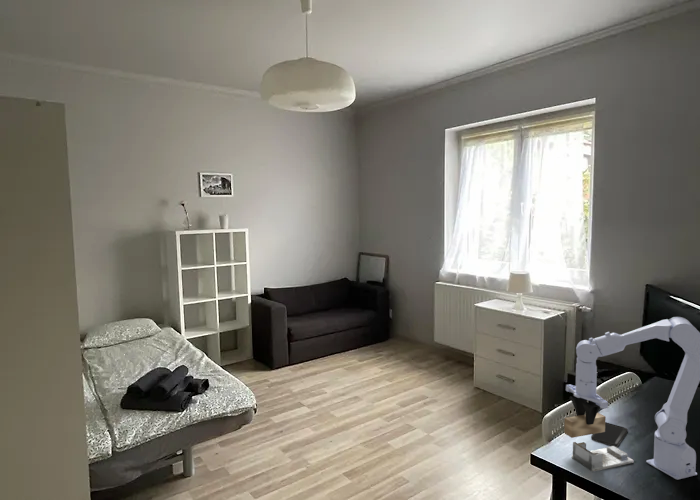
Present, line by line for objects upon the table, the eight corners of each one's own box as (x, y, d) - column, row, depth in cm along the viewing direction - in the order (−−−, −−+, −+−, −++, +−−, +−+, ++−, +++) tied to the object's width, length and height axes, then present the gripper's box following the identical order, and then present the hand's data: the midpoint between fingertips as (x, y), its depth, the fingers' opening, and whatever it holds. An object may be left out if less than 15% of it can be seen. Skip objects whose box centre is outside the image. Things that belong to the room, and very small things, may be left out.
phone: (628, 428, 149) (617, 445, 138) (628, 431, 149) (616, 448, 139) (602, 421, 155) (589, 436, 144) (602, 424, 155) (589, 440, 144)
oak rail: (597, 427, 140) (597, 412, 140) (604, 431, 137) (605, 416, 137) (564, 433, 137) (564, 417, 136) (571, 437, 134) (572, 422, 133)
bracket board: (610, 449, 138) (611, 434, 137) (633, 462, 130) (633, 446, 130) (571, 457, 133) (571, 441, 133) (592, 471, 126) (593, 455, 125)
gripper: (558, 373, 142) (557, 413, 143) (594, 389, 128) (593, 434, 129) (576, 370, 144) (575, 410, 145) (613, 386, 130) (612, 430, 131)
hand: (585, 421), depth 137 cm, fingers closed on oak rail, 3 cm apart
